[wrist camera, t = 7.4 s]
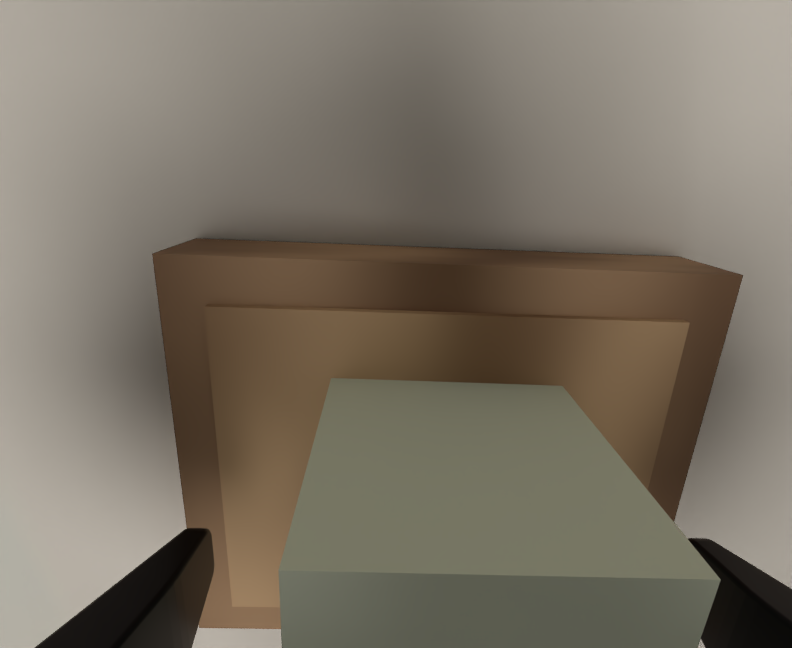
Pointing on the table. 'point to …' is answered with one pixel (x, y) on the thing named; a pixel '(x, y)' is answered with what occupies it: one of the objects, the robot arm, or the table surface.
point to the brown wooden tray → (411, 365)
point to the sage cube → (480, 528)
